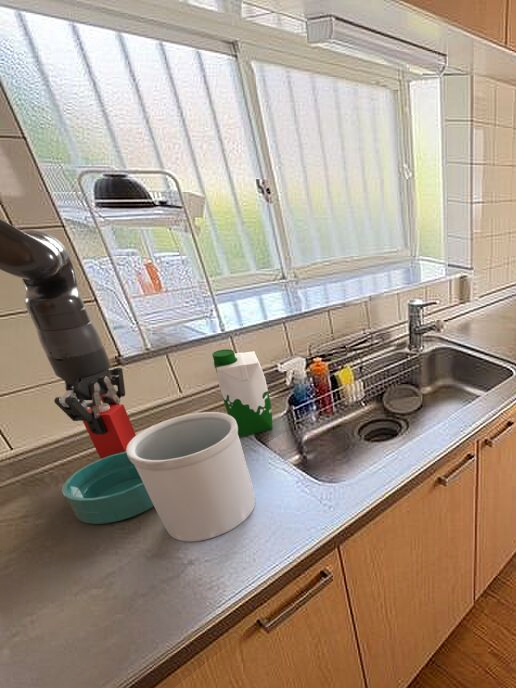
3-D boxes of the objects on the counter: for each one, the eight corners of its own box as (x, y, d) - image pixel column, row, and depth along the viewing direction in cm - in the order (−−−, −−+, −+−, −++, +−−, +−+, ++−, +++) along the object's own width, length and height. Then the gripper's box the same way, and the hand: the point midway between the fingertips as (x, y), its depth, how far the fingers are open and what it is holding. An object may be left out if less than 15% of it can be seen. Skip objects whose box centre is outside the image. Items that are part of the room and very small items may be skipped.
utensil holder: (151, 513, 76) (115, 433, 68) (241, 475, 87) (219, 402, 78) (176, 560, 68) (138, 475, 60) (272, 512, 78) (250, 434, 70)
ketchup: (101, 461, 85) (78, 411, 80) (115, 449, 88) (93, 401, 83) (129, 460, 86) (107, 411, 80) (141, 448, 89) (122, 400, 84)
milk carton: (231, 422, 103) (209, 347, 94) (272, 413, 108) (255, 341, 99) (234, 440, 97) (211, 362, 87) (278, 430, 101) (260, 354, 92)
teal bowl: (54, 528, 72) (38, 502, 69) (113, 474, 85) (101, 450, 82) (146, 524, 74) (133, 498, 71) (190, 472, 87) (181, 448, 84)
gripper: (81, 333, 82) (113, 408, 90) (14, 363, 69) (59, 448, 77) (124, 334, 83) (152, 408, 91) (66, 364, 70) (105, 447, 78)
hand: (109, 426), depth 84 cm, fingers closed on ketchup, 4 cm apart
